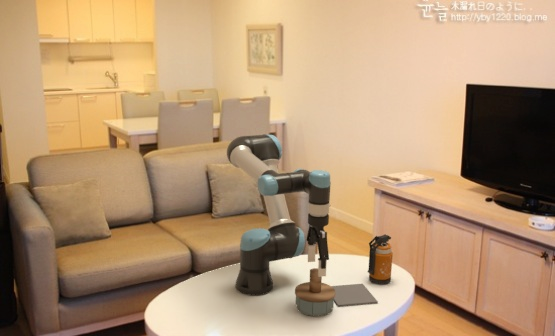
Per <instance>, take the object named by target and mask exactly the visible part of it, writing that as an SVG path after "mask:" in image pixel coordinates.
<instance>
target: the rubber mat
mask: <svg viewBox="0 0 555 336" xmlns="http://www.w3.org/2000/svg"><path fill="white" fill-rule="evenodd" d="M330 286H331V287H333V288H334V289H335V297H334V304H336V306H337V307H338V308H341V307H342V308H344V307H353V306H367V305H374V304H378V302H379V301H378V300H377V299H376V298H375V296H374V295H373V294H372V293H371V291H370V290H369V289H368V288H367V286H365V285H364V284H363V283H355V284H353V283H352V284H343V285H342V284H340V285H330Z"/></svg>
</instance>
